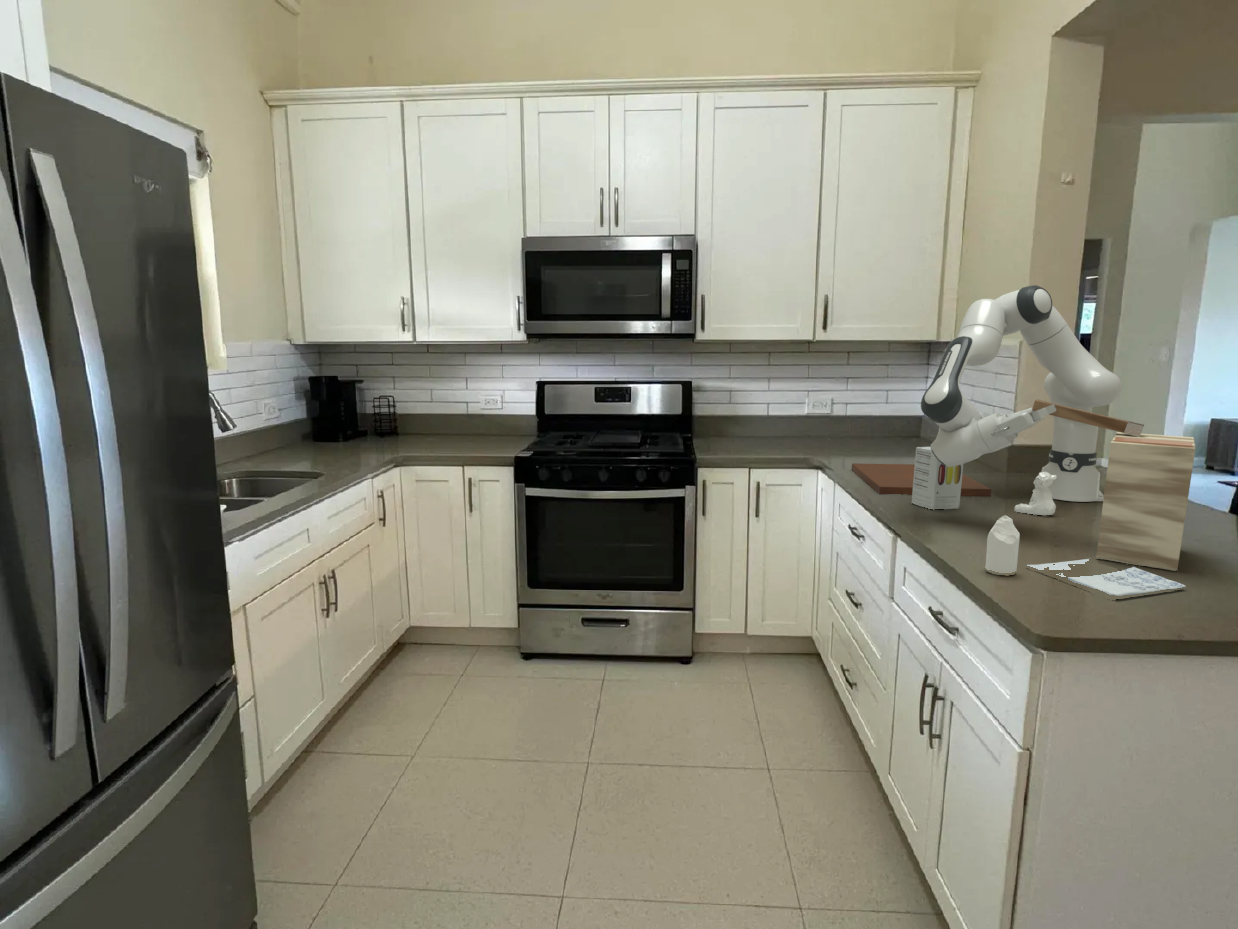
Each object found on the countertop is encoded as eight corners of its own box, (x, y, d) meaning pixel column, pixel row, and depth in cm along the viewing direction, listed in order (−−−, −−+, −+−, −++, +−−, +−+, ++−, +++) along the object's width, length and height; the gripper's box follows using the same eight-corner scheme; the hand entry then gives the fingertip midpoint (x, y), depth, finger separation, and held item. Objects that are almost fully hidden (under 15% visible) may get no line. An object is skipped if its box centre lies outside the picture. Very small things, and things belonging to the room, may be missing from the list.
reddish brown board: (945, 473, 252) (851, 471, 256) (945, 465, 252) (852, 463, 255) (990, 498, 213) (879, 496, 216) (991, 489, 212) (879, 486, 216)
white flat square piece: (1112, 604, 129) (1114, 593, 129) (1022, 570, 148) (1023, 560, 148) (1187, 593, 135) (1189, 583, 134) (1091, 561, 154) (1092, 552, 153)
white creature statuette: (1036, 508, 198) (1041, 467, 196) (1065, 515, 190) (1070, 472, 188) (1012, 511, 195) (1016, 469, 193) (1040, 519, 187) (1045, 475, 185)
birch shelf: (1103, 538, 169) (1117, 430, 164) (1176, 549, 160) (1193, 435, 156) (1095, 559, 153) (1110, 440, 149) (1176, 572, 145) (1195, 447, 140)
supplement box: (932, 511, 196) (937, 451, 193) (910, 503, 204) (914, 446, 201) (960, 508, 199) (965, 450, 195) (937, 501, 207) (941, 445, 204)
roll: (998, 520, 140) (983, 513, 146) (993, 576, 143) (978, 567, 148) (1028, 519, 141) (1011, 512, 146) (1022, 576, 143) (1006, 567, 148)
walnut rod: (1033, 409, 171) (1037, 399, 171) (1140, 435, 159) (1144, 424, 158) (1031, 410, 168) (1034, 400, 167) (1139, 437, 156) (1143, 426, 155)
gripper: (983, 423, 168) (1043, 397, 159) (999, 416, 183) (1056, 392, 175) (995, 447, 167) (1057, 422, 158) (1011, 437, 182) (1068, 414, 174)
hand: (1056, 406), depth 167 cm, fingers closed on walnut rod, 3 cm apart
